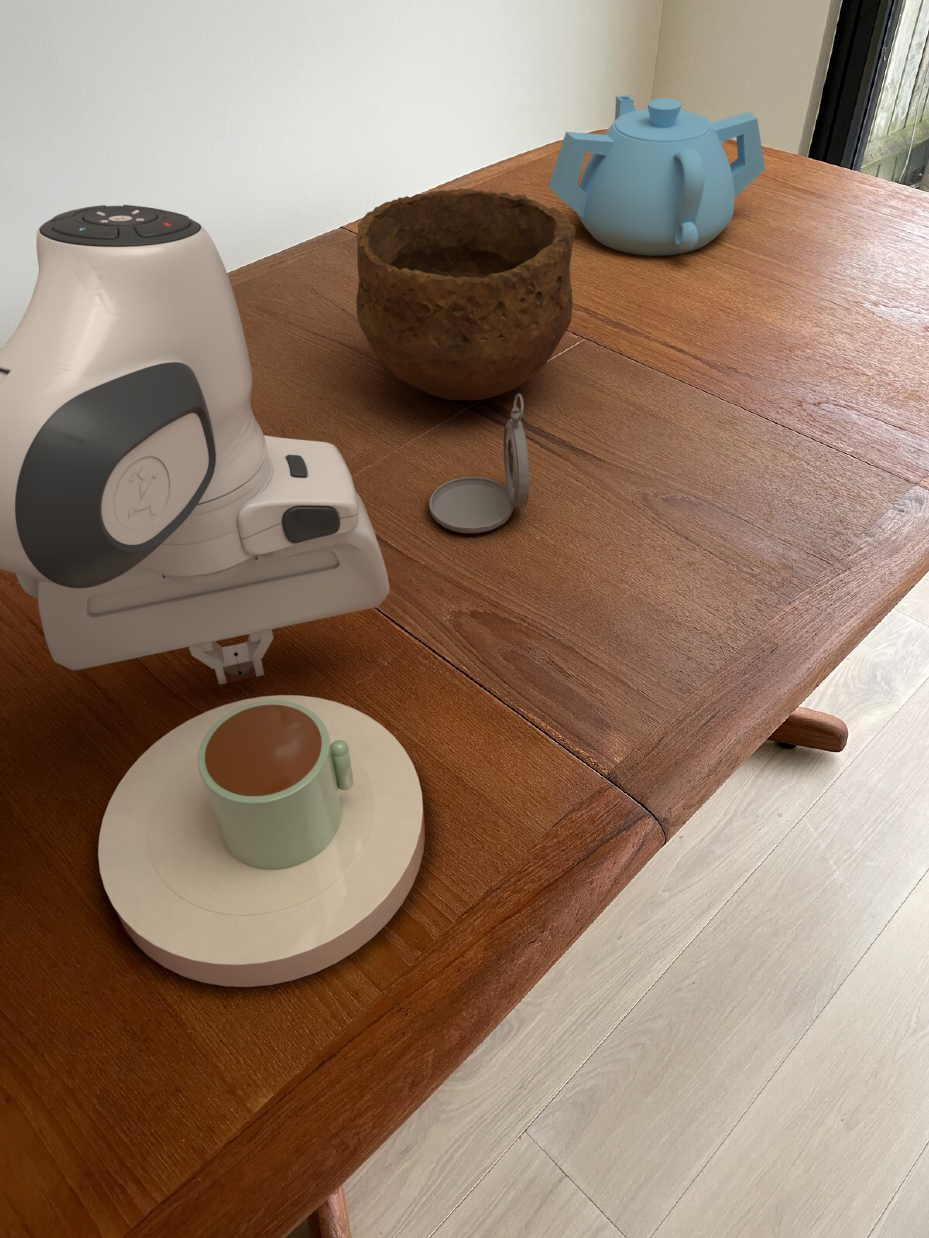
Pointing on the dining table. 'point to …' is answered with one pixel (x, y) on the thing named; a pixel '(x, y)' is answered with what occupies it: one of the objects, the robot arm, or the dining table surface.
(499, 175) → the dining table surface
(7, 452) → the robot arm
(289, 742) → the teacup
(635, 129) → the teapot
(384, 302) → the bowl
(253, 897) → the plate
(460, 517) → the pocket watch
